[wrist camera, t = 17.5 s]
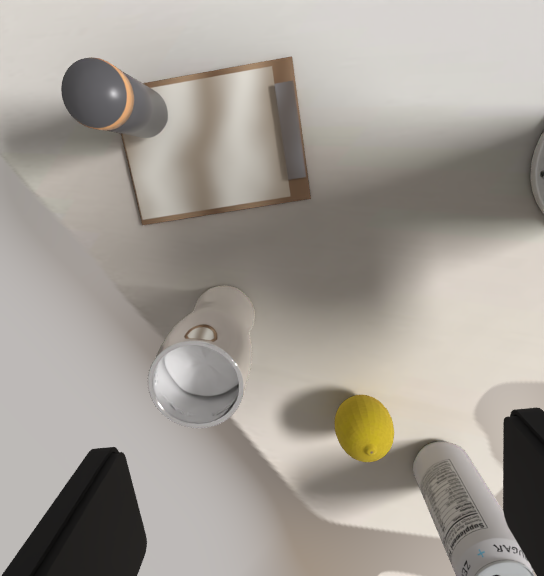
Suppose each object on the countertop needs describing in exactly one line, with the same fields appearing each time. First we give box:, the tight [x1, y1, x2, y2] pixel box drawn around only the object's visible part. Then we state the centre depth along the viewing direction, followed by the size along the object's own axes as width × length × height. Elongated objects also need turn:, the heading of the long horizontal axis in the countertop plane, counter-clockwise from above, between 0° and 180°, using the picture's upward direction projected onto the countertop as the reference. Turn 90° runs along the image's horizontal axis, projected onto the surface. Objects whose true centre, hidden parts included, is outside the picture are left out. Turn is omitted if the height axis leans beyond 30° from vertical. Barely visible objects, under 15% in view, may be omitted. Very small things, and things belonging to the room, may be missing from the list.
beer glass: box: [148, 286, 255, 428], centre depth 37 cm, size 7×7×15 cm
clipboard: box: [121, 57, 311, 225], centre depth 39 cm, size 16×12×1 cm
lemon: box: [335, 395, 394, 462], centre depth 43 cm, size 6×6×8 cm
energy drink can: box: [413, 441, 534, 576], centre depth 41 cm, size 6×6×15 cm
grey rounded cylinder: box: [61, 58, 168, 138], centre depth 33 cm, size 4×4×12 cm
